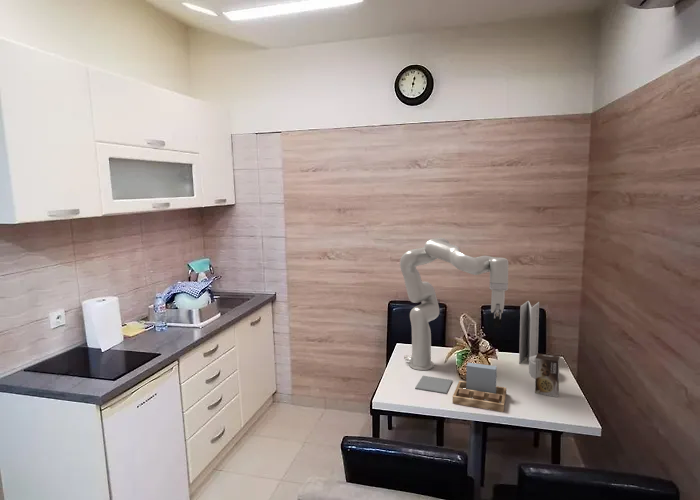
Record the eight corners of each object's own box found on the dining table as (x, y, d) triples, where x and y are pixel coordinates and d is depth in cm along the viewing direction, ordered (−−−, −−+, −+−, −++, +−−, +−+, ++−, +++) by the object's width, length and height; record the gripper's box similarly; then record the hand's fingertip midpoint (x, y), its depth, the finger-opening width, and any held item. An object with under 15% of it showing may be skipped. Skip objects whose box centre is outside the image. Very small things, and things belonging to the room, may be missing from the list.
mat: (415, 388, 190) (415, 387, 190) (422, 376, 203) (422, 375, 203) (446, 394, 184) (446, 392, 184) (452, 381, 197) (452, 379, 197)
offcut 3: (488, 406, 172) (488, 397, 172) (489, 402, 176) (489, 393, 176) (498, 408, 171) (498, 399, 170) (499, 404, 174) (499, 394, 174)
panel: (466, 394, 183) (466, 365, 182) (467, 390, 187) (467, 362, 186) (495, 399, 179) (495, 369, 177) (496, 395, 182) (496, 366, 181)
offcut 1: (458, 401, 177) (458, 392, 177) (460, 397, 181) (460, 388, 180) (468, 403, 176) (468, 394, 175) (469, 399, 179) (469, 390, 179)
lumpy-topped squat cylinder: (549, 370, 206) (550, 353, 205) (557, 382, 193) (557, 364, 192) (527, 369, 208) (527, 352, 207) (532, 380, 195) (533, 362, 194)
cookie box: (559, 391, 184) (560, 356, 182) (557, 397, 178) (559, 361, 176) (536, 387, 189) (537, 352, 187) (534, 393, 183) (535, 357, 181)
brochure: (530, 366, 212) (532, 307, 208) (519, 363, 215) (520, 306, 212) (537, 357, 223) (539, 301, 220) (526, 355, 227) (528, 300, 223)
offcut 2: (473, 404, 175) (473, 395, 174) (474, 400, 178) (474, 390, 178) (483, 405, 173) (483, 396, 173) (484, 401, 177) (484, 392, 176)
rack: (452, 403, 176) (452, 396, 175) (459, 386, 191) (459, 380, 190) (503, 412, 168) (503, 404, 167) (506, 394, 183) (506, 387, 182)
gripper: (490, 281, 193) (490, 318, 195) (488, 289, 177) (487, 329, 179) (508, 282, 190) (507, 319, 192) (507, 290, 174) (506, 330, 176)
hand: (497, 324), depth 186 cm, fingers open, 9 cm apart
